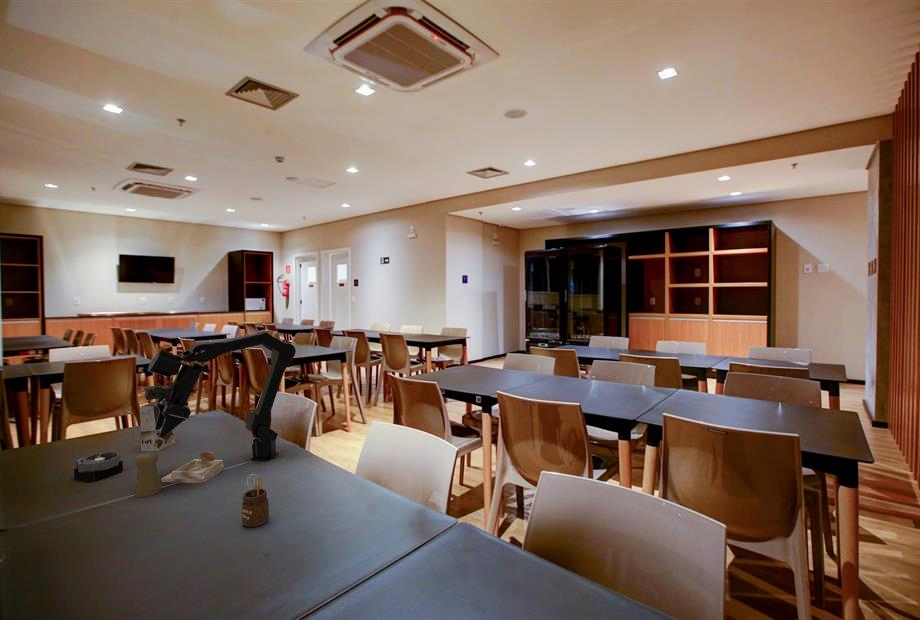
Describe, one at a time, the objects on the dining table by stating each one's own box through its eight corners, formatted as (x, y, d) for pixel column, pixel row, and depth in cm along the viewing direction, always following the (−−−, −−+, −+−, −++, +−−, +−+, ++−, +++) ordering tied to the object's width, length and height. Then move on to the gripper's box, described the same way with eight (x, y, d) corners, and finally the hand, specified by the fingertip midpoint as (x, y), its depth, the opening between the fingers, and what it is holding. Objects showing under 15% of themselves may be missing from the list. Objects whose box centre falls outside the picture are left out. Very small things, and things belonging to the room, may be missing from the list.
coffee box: (158, 451, 153) (156, 406, 153) (140, 451, 153) (138, 406, 153) (176, 442, 162) (174, 399, 162) (158, 442, 163) (157, 399, 162)
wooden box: (224, 469, 137) (223, 451, 137) (202, 483, 127) (202, 464, 127) (185, 468, 138) (184, 451, 138) (161, 481, 128) (160, 463, 128)
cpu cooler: (127, 453, 137) (89, 465, 127) (128, 471, 137) (90, 484, 128) (106, 449, 141) (68, 461, 131) (107, 467, 141) (69, 479, 131)
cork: (166, 487, 125) (165, 449, 124) (149, 497, 119) (147, 457, 118) (147, 487, 125) (145, 449, 125) (129, 497, 119) (127, 457, 119)
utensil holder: (263, 512, 110) (262, 465, 109) (273, 521, 105) (271, 472, 105) (238, 521, 106) (236, 472, 105) (247, 531, 101) (245, 480, 101)
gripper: (151, 369, 133) (124, 418, 129) (160, 378, 119) (130, 434, 115) (190, 380, 140) (165, 428, 136) (202, 391, 126) (175, 444, 122)
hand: (158, 433), depth 127 cm, fingers open, 9 cm apart
